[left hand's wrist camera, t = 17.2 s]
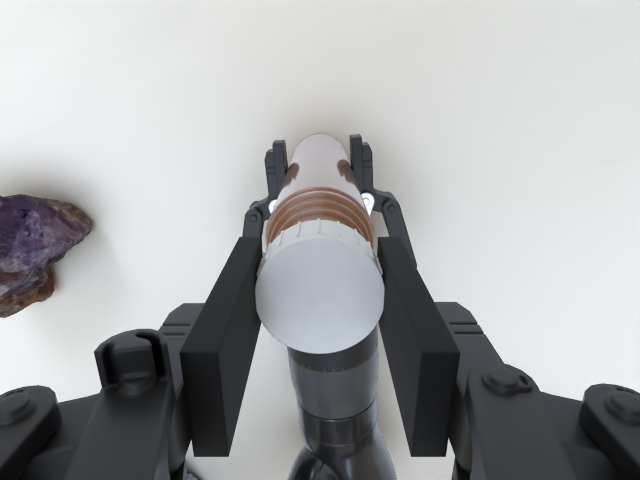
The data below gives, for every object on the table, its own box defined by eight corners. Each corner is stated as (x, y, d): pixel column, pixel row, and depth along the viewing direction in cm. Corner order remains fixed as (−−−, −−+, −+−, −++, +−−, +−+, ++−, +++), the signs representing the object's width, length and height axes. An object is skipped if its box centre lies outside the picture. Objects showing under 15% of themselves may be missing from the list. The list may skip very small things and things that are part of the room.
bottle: (287, 140, 35) (229, 240, 13) (340, 128, 35) (378, 208, 12) (300, 192, 37) (268, 363, 14) (351, 181, 36) (402, 338, 14)
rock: (118, 231, 39) (25, 152, 36) (80, 260, 31) (-43, 161, 28) (34, 312, 40) (-62, 241, 37) (-23, 361, 32) (-152, 275, 29)
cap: (297, 342, 16) (294, 373, 14) (238, 251, 14) (227, 274, 13) (398, 295, 15) (408, 323, 13) (345, 196, 14) (349, 212, 12)
